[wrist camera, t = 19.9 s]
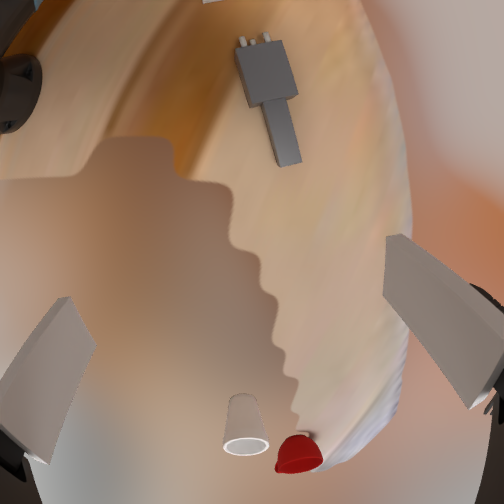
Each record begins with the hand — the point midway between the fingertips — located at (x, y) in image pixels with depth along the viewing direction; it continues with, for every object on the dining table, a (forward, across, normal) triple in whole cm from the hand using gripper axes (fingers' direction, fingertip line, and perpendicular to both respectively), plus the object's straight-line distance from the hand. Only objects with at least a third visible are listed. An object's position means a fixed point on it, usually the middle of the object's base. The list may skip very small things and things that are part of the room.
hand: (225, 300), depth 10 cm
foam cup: (+31, -7, -49) cm, 58 cm away
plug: (+31, +8, +10) cm, 34 cm away
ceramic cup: (+30, +3, -77) cm, 82 cm away
